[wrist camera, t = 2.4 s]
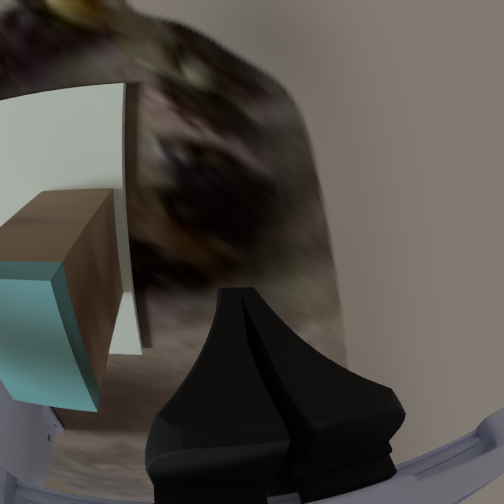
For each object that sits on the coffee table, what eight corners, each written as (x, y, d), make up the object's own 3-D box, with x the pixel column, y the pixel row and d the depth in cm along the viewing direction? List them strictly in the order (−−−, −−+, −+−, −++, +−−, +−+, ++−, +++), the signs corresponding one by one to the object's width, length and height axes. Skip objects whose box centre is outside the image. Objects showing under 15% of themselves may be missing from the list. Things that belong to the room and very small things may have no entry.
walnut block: (123, 292, 17) (97, 412, 10) (60, 290, 16) (13, 399, 9) (113, 188, 14) (50, 280, 7) (41, 191, 13) (-48, 276, 6)
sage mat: (142, 348, 20) (142, 354, 19) (-20, 334, 17) (-23, 339, 17) (126, 83, 12) (123, 83, 12) (-73, 122, 10) (-79, 124, 9)
